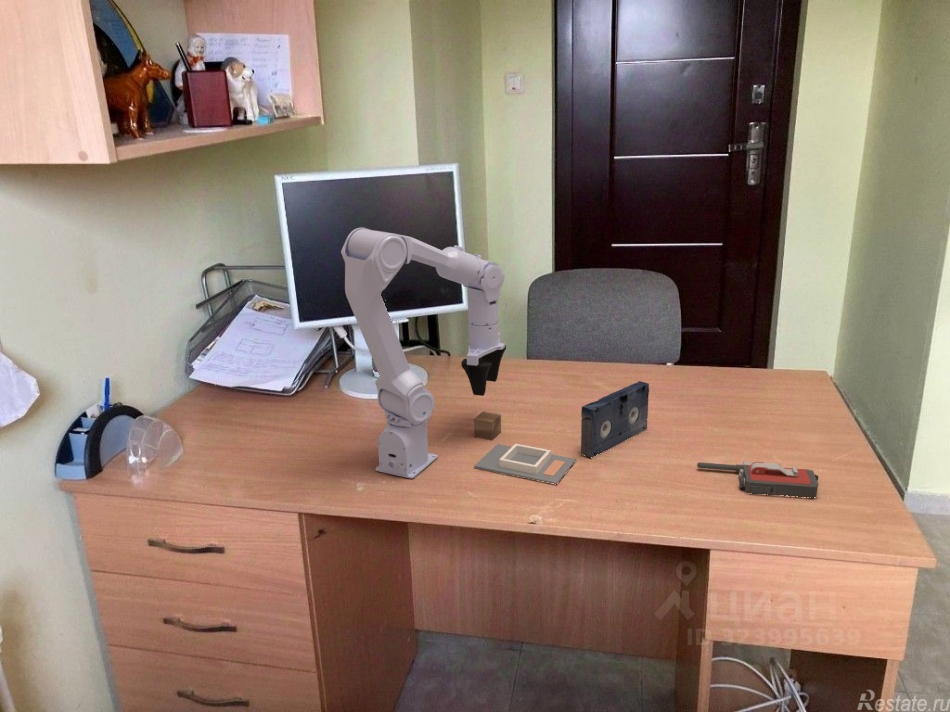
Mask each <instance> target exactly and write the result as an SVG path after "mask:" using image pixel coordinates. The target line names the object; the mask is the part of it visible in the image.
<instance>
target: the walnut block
mask: <svg viewBox="0 0 950 712" xmlns="http://www.w3.org/2000/svg"><path fill="white" fill-rule="evenodd" d="M473 432H474V433H473V436H474V438H476V439H477V438H478V439H483V440H489V441H494V440H495V439H496V438H497V437H498V436H499V435H500V434H501V433H502V414H500V413H493V412H489V411H482V412H480V413H479V414H477V416H475V417H474V418H473Z"/></svg>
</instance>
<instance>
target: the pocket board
mask: <svg viewBox="0 0 950 712" xmlns="http://www.w3.org/2000/svg"><path fill="white" fill-rule="evenodd" d="M575 461H576V462H577V458H573V457H567V456H563V455H558V454H552V450H551V449H546V448H540V447H534V446H531V445H530V446H529V445H524V444H519V443H514V444H513V445H512V446H510V445H507V444H506V445H505V444H499V443H497V444H496V445H495V446H493V447H492V448H491V449H490V450H489V451H488V452H487V453H486V454H485V455H484V456H483V457H481V459H480V460H478V462H477V463H475V464H474V465H473V468H474V469H476V468H477V469H476V470H480V469H483V470H482V471H485V470H487V471H486V472H490V471H492V472H491V473H495V472H497V473H496V474H499V473H503V474H502V475H504V474H508V475H507V476H509V475H514V476H519V477H525V478H529V479H534V480H539V481H544V482H549V483H554V484H557V483H558V482H559V481H560V480H561V478H562V477H563V476H564V475H565V473H566V472H567V471H568V470H569V469H570V467H571V466H572V465H573V464H574V463H575V464H576V462H575ZM575 464H574V465H575ZM574 465H573V466H574ZM573 466H572V467H573ZM572 467H571V468H572ZM570 470H571V469H570ZM570 470H569V471H570ZM569 471H568V472H569ZM568 472H567V473H568ZM514 476H513V477H514ZM565 476H566V475H565ZM565 476H564V477H565ZM564 477H563V478H564ZM561 481H562V480H561ZM561 481H560V482H561ZM560 482H559V483H560ZM559 483H558V484H559Z"/></svg>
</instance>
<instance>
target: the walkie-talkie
mask: <svg viewBox="0 0 950 712" xmlns="http://www.w3.org/2000/svg"><path fill="white" fill-rule="evenodd" d="M696 466H697V468H698V469H704V470H705V469H707V470H721V471H733V472H734V471H735V472H736V473H738V479H739V485H738V486H739V488H740V489H745V490H744V493H745V492H746V493H752V494H766V495H767V494H768V495H784V496H786V495H788V496H795V497H796V496H798V497H806V498H807V497H809V498H810V497H811V498H814V497H816V498H817V496H818V495H817V494H818V490H819V489H818V488H819V483H818V480H819V475H817V474H815V472H814V470H812V469H807V468H797V466H792V467H783V466H782V465H781V464H779V463H778V462H761V461H754V462H751V461H743V464H726V463H725V464H724V463H715V462H714V463H712V462H701V461H700V462H697V463H696ZM746 493H745V494H746Z"/></svg>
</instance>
